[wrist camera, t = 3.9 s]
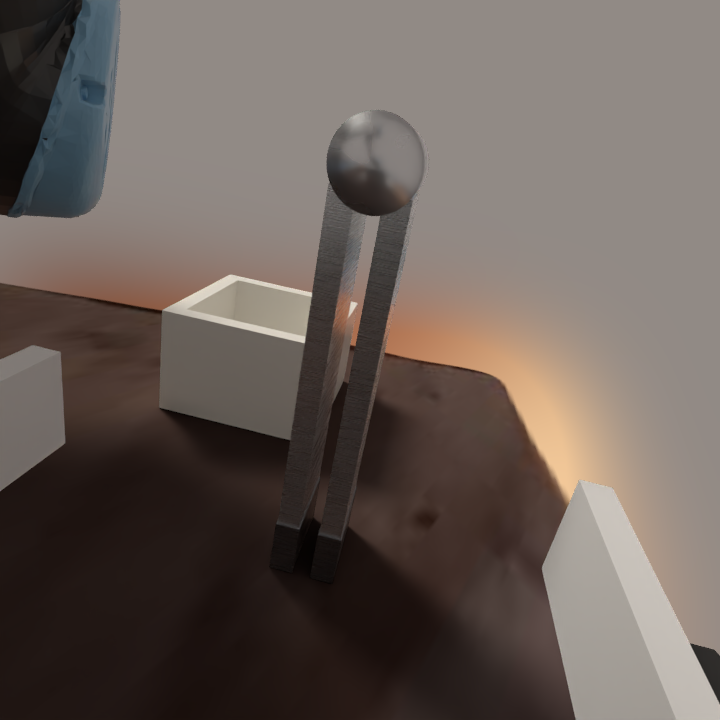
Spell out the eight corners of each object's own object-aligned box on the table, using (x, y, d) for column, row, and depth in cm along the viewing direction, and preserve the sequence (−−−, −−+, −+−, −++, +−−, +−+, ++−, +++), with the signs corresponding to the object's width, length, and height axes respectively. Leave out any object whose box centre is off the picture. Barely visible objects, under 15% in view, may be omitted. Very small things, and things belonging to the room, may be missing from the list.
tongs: (267, 566, 22) (335, 101, 15) (298, 497, 27) (361, 114, 19) (334, 584, 22) (434, 120, 15) (354, 512, 26) (438, 129, 19)
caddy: (159, 407, 32) (162, 310, 29) (223, 352, 41) (230, 274, 39) (312, 445, 31) (328, 348, 29) (343, 380, 40) (357, 303, 38)
